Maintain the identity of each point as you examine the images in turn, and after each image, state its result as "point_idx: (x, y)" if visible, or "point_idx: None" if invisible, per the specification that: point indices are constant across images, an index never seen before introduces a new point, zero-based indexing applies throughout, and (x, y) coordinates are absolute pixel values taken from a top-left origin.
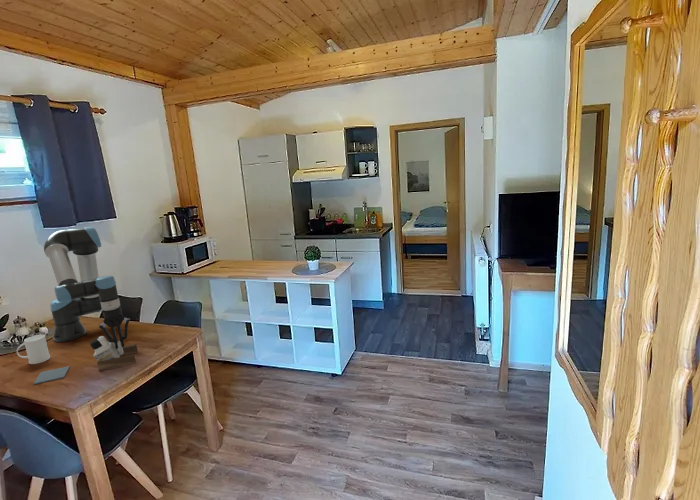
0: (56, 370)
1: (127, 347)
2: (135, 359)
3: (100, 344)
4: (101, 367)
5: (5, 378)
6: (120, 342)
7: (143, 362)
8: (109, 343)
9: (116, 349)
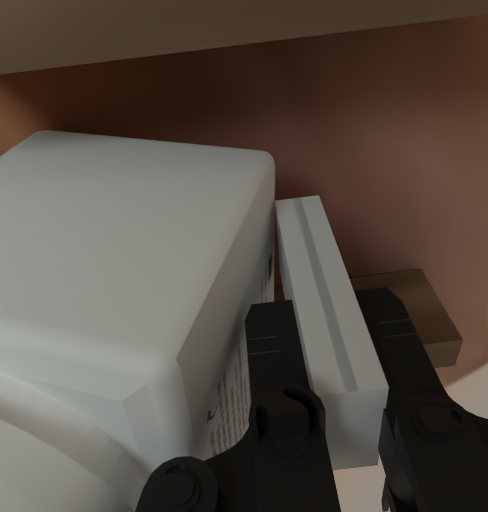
0: None
1: (385, 21)
2: (430, 290)
3: None
4: None
5: None
6: (373, 443)
7: (480, 308)
8: (141, 456)
9: (246, 308)
